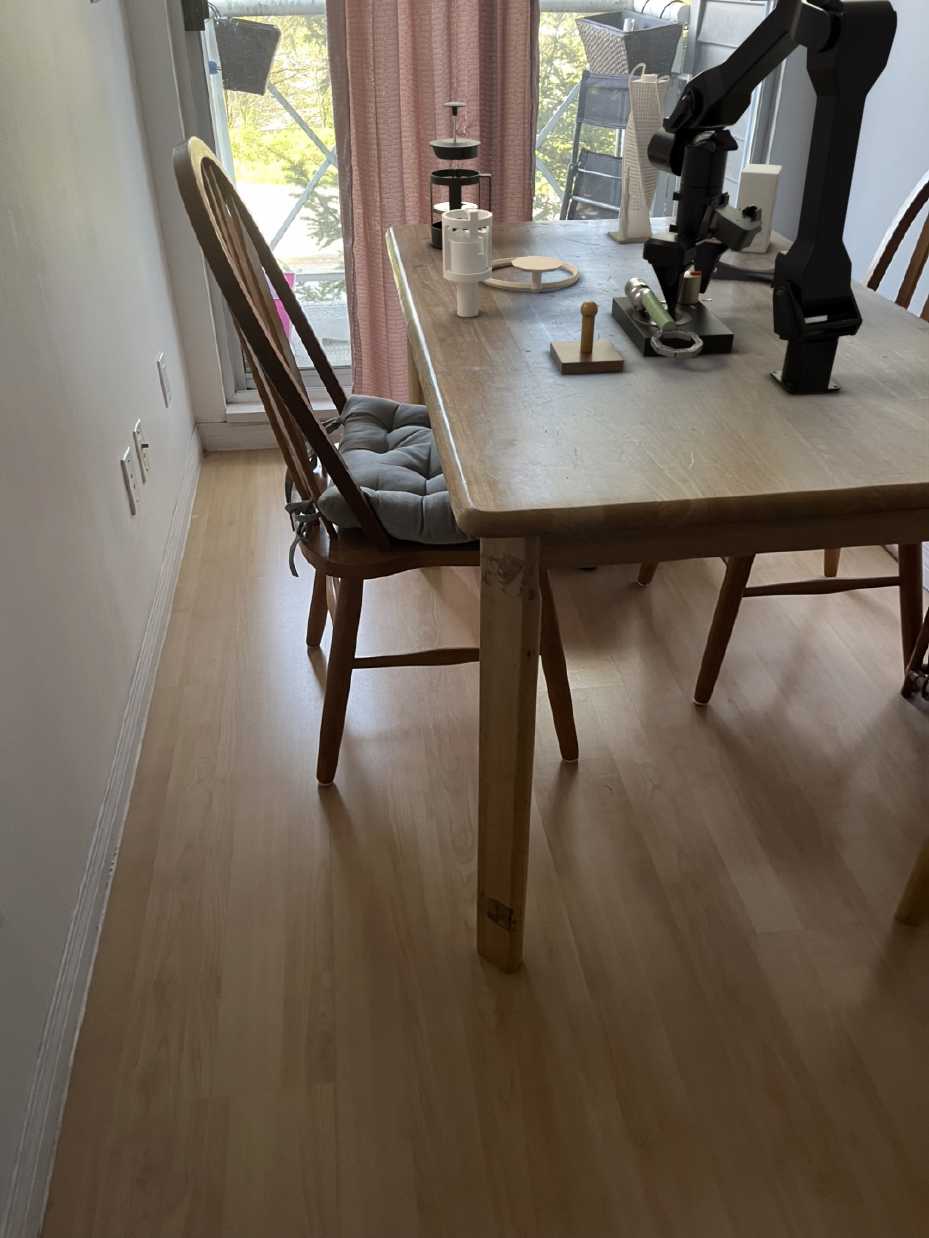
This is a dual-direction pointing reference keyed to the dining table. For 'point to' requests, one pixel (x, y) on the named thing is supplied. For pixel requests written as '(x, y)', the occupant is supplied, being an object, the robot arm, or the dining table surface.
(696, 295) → the burner knob
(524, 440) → the dining table surface
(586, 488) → the dining table surface
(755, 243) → the small box
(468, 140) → the french press
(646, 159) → the skyscraper
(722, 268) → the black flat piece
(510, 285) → the hand towel holder
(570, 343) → the peg stand
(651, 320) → the burner
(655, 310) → the green handled ring tool
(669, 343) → the stove
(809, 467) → the dining table surface
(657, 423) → the dining table surface
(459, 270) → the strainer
